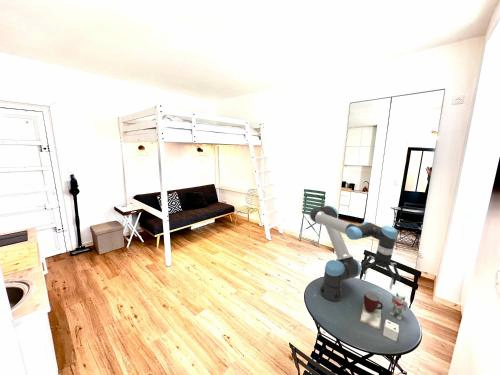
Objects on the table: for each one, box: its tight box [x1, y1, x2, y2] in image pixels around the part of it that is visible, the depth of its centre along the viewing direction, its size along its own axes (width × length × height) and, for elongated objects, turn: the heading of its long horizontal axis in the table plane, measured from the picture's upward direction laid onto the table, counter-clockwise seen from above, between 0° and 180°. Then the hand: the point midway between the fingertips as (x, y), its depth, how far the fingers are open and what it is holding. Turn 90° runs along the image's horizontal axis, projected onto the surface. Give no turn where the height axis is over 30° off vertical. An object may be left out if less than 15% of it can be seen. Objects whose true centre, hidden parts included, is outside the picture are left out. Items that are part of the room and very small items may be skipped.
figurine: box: [389, 292, 408, 321], centre depth 124 cm, size 8×8×15 cm
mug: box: [363, 291, 384, 312], centre depth 126 cm, size 10×8×10 cm
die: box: [382, 319, 400, 342], centre depth 112 cm, size 6×6×6 cm
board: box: [359, 302, 382, 331], centre depth 124 cm, size 10×16×1 cm, turn 146°
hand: (377, 283), depth 123 cm, fingers open, 13 cm apart
